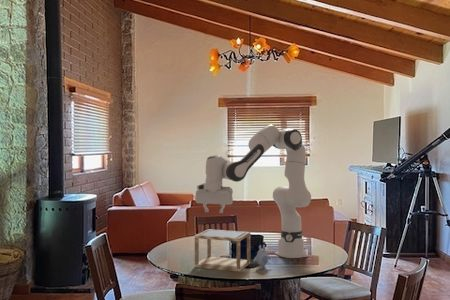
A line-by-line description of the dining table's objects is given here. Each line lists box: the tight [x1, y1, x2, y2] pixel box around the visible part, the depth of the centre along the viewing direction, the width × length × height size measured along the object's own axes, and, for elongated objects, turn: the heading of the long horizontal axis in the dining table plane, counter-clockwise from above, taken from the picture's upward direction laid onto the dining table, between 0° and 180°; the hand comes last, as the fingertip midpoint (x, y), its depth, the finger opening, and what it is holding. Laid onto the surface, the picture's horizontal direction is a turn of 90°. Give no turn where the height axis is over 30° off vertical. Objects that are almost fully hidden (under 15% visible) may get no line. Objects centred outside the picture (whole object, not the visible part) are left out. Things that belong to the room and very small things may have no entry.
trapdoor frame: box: [194, 228, 251, 273], centre depth 243 cm, size 24×18×16 cm
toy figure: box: [252, 244, 272, 270], centre depth 236 cm, size 11×6×12 cm, turn 120°
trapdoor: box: [200, 229, 246, 245], centre depth 243 cm, size 20×14×3 cm
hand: (213, 212), depth 244 cm, fingers open, 7 cm apart
